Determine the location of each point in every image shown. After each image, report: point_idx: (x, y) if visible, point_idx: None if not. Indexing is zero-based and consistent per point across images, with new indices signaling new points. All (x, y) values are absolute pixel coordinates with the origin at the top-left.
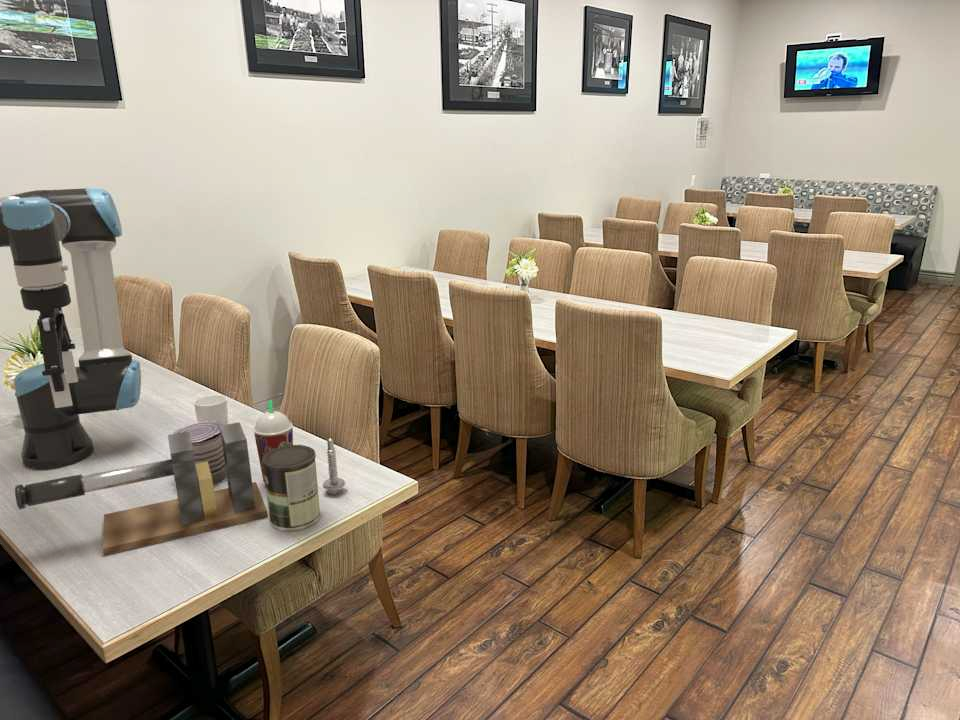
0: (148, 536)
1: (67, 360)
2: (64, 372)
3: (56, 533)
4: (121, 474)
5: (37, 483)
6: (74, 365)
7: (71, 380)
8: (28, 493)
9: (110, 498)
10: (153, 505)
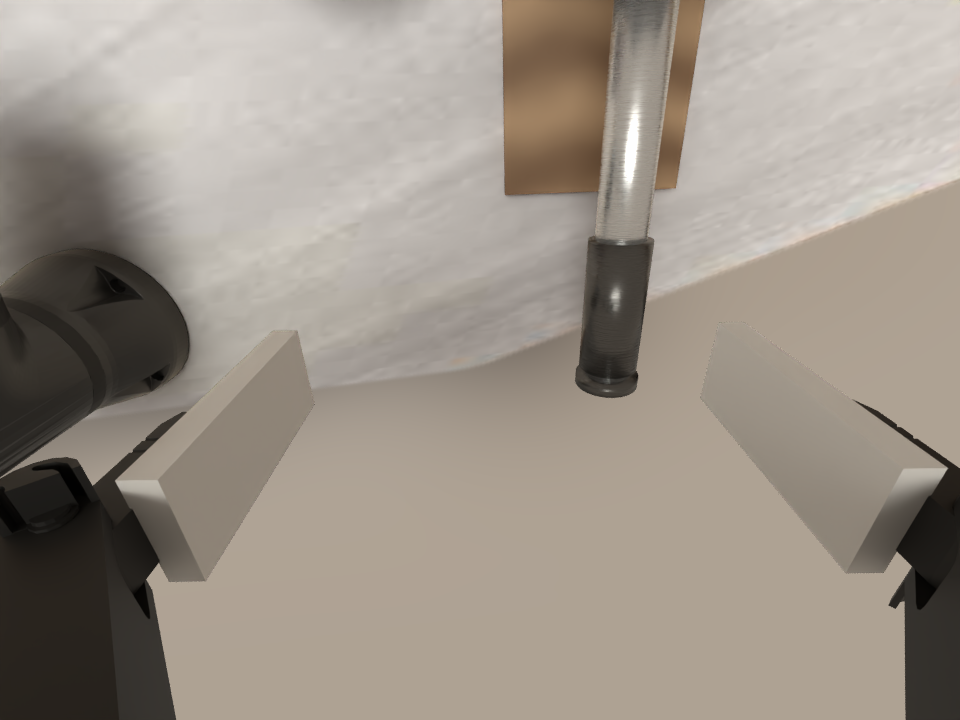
0: (684, 74)
1: (226, 456)
2: (940, 472)
3: (513, 288)
4: (661, 116)
5: (618, 353)
6: (233, 389)
7: (296, 367)
8: (636, 364)
9: (387, 187)
10: (514, 62)
